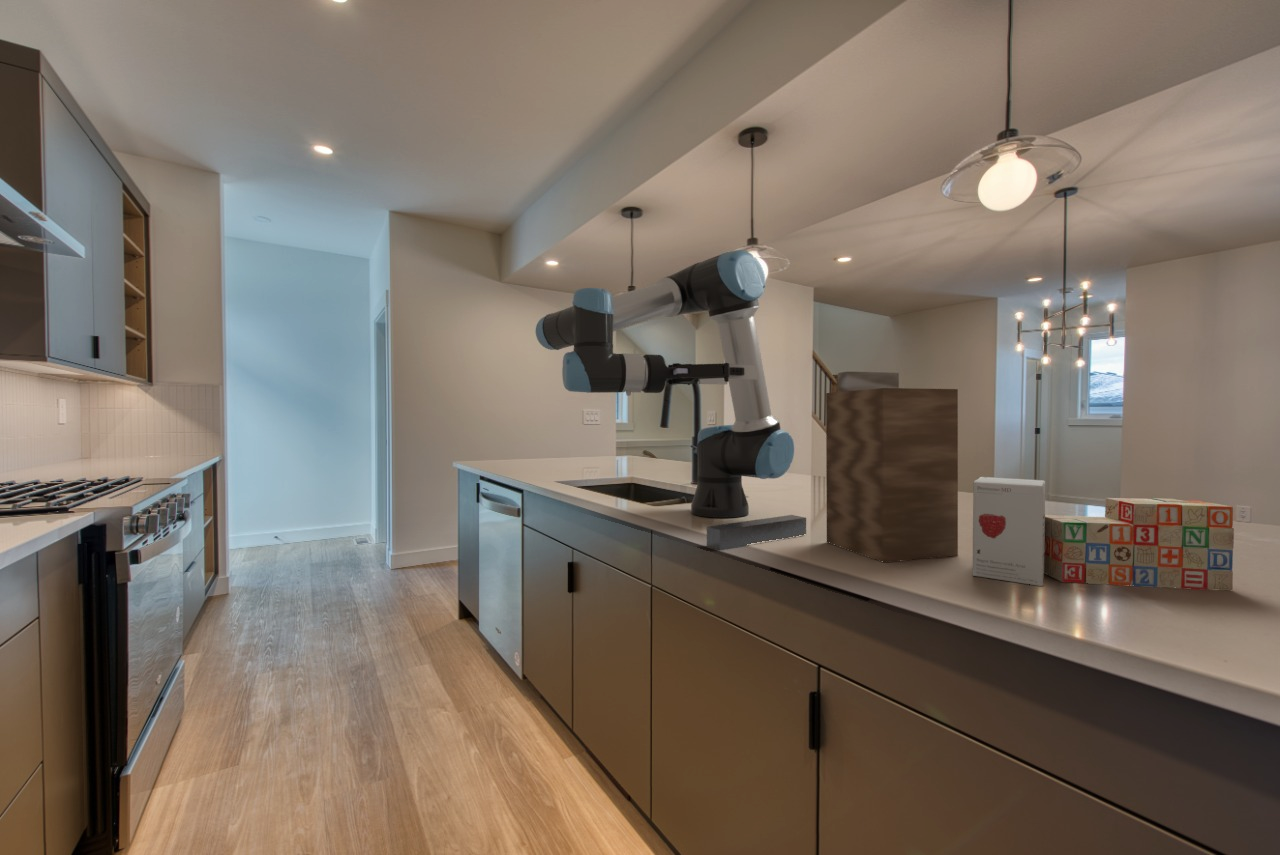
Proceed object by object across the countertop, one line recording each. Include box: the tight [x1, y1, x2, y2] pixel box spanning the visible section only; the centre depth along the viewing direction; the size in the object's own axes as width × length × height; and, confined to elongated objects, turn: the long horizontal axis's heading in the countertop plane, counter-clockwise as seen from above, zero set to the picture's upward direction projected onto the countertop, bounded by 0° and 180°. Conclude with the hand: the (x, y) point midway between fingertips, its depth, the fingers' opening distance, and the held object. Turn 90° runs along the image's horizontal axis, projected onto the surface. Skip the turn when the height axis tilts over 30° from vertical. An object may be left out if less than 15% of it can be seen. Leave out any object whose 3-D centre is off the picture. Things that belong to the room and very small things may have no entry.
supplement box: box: [972, 476, 1046, 587], centre depth 83 cm, size 9×9×15 cm
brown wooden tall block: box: [825, 371, 959, 563], centre depth 101 cm, size 16×16×34 cm
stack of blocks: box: [1044, 497, 1235, 591], centre depth 80 cm, size 21×6×12 cm, turn 78°
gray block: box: [706, 514, 807, 551], centre depth 109 cm, size 4×24×4 cm
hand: (741, 375), depth 110 cm, fingers open, 13 cm apart
